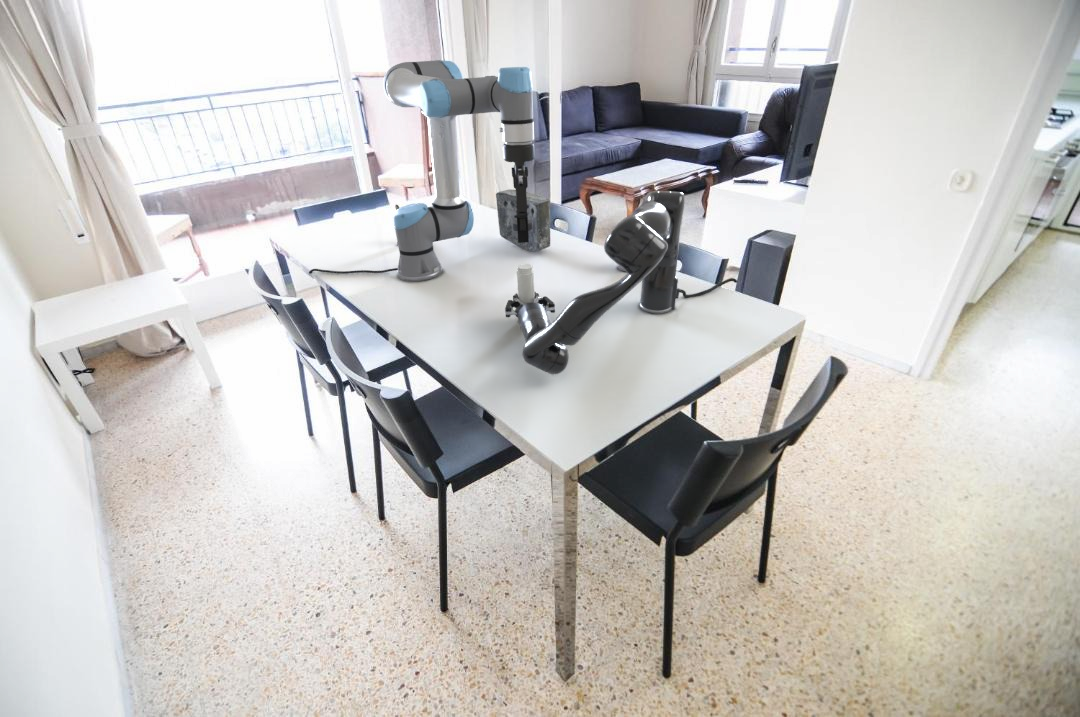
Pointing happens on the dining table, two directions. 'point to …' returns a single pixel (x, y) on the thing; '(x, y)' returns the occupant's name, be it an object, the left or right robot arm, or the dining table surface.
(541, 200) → the concrete block
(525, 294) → the cylinder
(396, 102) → the left robot arm
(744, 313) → the dining table surface
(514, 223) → the lid
